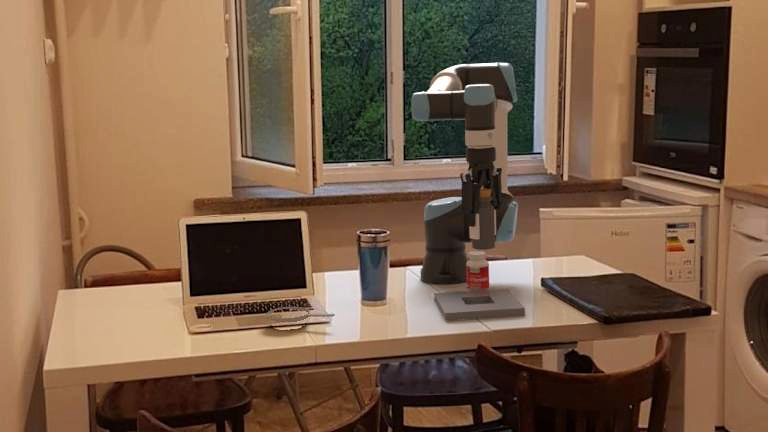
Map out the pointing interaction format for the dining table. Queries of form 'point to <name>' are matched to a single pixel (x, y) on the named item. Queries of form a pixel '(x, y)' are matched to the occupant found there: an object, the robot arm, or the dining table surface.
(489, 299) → the hole plate
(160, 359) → the dining table surface
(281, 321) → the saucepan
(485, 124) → the robot arm
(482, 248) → the bottle
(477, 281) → the pill bottle
